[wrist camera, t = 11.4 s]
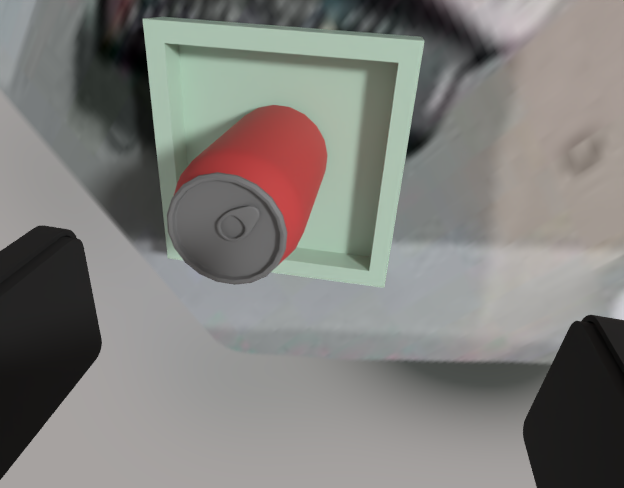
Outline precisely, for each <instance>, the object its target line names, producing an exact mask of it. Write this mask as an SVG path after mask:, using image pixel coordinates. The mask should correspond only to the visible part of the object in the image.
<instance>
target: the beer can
mask: <svg viewBox="0 0 624 488" xmlns="http://www.w3.org/2000/svg"><path fill="white" fill-rule="evenodd" d="M327 156H328V155H327V150H326V145H325V140H324V138H323V136H322V134H321V133H320V131H319V129H318V127H317V126H316V125H315V124H314V123H313V122H312V121H311V120H310V119H309V118H308V117H307V116H306V115H305V114H303V113H301V112H299V111H297V110H295V109H293V108H291V107H286V106H279V105H270V106H264V107H259V108H257V109H255V110H253V111H252V112H250V113H248V114H247V115H245V116H244V117H243V118H241V119H240V120H239V121H238V122H237V123H236V124H234V125H233V126H232V127H231V128H230V129H229V130H227V131H226V132H225V133H224V134H223V135H222V136H220V137H219V138H218V139H217V140H216V141H215V142H213V143H212V144H211V145H210V146H209V147H207V148H206V149H205V150H204V151H203V152H202V153H200V154H199V155H198V156H197V157H196V158H195V159H193V160H192V162H191V163H190V164H189V165H188V167H187V168H186V169H185V170H184V172H183V173H182V174H181V176H180V178H179V180H178V183H177V186H176V189H175V193H174V196H173V197H172V199H171V202H170V205H169V209H168V212H167V227H168V233H169V236H170V238H171V241H172V243H173V246H174V248H175V250H176V251H177V252H178V254H179V255H180V256H181V257H182V259H183V260H184V261H185V263H187V264H188V265H189V266H190V267H192V268H193V269H194V270H195V271H197V272H198V273H199V274H201V275H203V276H206V277H208V278H210V279H212V280H214V281H217V282H223V283H229V284H244V283H252V282H254V281H257V280H259V279H261V278H263V277H266V276H267V275H268V274H269V273H270V272H272V271H273V270H274V269H275V268H276V267H277V266H278V265H279V264H280V263H281V262H282V261H283V260H284V259H286V258H287V257H288V256H289V255H290V254H291V253H292V252H293V251H294V250H295V249H296V247H297V245H298V243H299V241H300V239H301V237H302V235H303V233H304V230H305V228H306V225H307V222H308V219H309V216H310V213H311V211H312V208H313V205H314V202H315V199H316V197H317V194H318V191H319V188H320V185H321V182H322V180H323V177H324V174H325V171H326V164H327Z"/></svg>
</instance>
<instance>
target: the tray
mask: <svg viewBox="0 0 624 488" xmlns="http://www.w3.org/2000/svg"><path fill="white" fill-rule="evenodd" d="M143 27H144V37H145V46H146V56H147V65H148V75H149V84H150V94H151V103H152V113H153V122H154V132H155V141H156V151H157V161H158V170H159V180H160V189H161V199H162V208H163V218H164V227H165V237H166V246H167V256H168V258H169V259H177V260H183V259H182V257H181V256H180V255H179V254H178V252H177V251H176V250H175V248H174V246H173V243H172V241H171V238H170V236H169V233H168V227H167V212H168V209H169V205H170V202H171V199H172V197H173V196H174V193H175V189H176V186H177V183H178V180H179V178H180V176H181V174H182V173H183V172H184V170H185V169H186V168H187V167H188V165H189V164H190V163H191V162H192V160H193V159H195V158H196V157H197V156H198V155H199V154H200V153H202V152H203V151H204V150H205V149H206V148H207V147H209V146H210V145H211V144H212V143H213V142H215V141H216V140H217V139H218V138H219V137H220V136H222V135H223V134H224V133H225V132H226V131H227V130H229V129H230V128H231V127H232V126H233V125H234V124H236V123H237V122H238V121H239V120H240V119H241V118H243V117H244V116H245V115H247V114H248V113H250V112H252V111H253V110H255V109H257V108H259V107H264V106H270V105H279V106H286V107H291V108H293V109H295V110H297V111H299V112H301V113H303V114H305V115H306V116H307V117H308V118H309V119H310V120H311V121H312V122H313V123H314V124H315V125H316V126H317V127H318V129H319V131H320V133H321V134H322V136H323V138H324V140H325V145H326V150H327V155H328V156H327V164H326V171H325V174H324V177H323V180H322V182H321V185H320V188H319V191H318V194H317V197H316V199H315V202H314V205H313V208H312V211H311V213H310V216H309V219H308V222H307V225H306V228H305V230H304V233H303V235H302V237H301V239H300V241H299V243H298V245H297V247H296V249H295V250H294V251H293V252H292V253H291V254H290V255H289V256H288V257H287V258H286V259H284V260H283V261H282V262H281V263H280V264H279V265H278V266H277V267H276V268H275V269H274V270H273V271H272V273H279V274H287V275H294V276H301V277H309V278H316V279H323V280H331V281H338V282H345V283H353V284H360V285H367V286H375V287H382V288H384V286H385V280H386V274H387V268H388V262H389V255H390V249H391V243H392V237H393V231H394V225H395V219H396V212H397V206H398V200H399V194H400V188H401V182H402V176H403V169H404V163H405V157H406V151H407V145H408V139H409V133H410V126H411V120H412V114H413V108H414V102H415V96H416V90H417V83H418V77H419V71H420V65H421V59H422V53H423V47H424V39H423V38H422V37H417V36H404V35H391V34H378V33H365V32H352V31H339V30H326V29H313V28H300V27H287V26H274V25H261V24H249V23H236V22H223V21H210V20H197V19H184V18H171V17H158V18H146V19H143Z"/></svg>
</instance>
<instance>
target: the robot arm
mask: <svg viewBox="0 0 624 488" xmlns="http://www.w3.org/2000/svg"><path fill="white" fill-rule="evenodd" d="M101 344H102V341H101V335H100V330H99V325H98V319H97V314H96V309H95V304H94V299H93V294H92V288H91V283H90V278H89V273H88V267H87V262H86V257H85V252H84V247H83V244H82V242H81V240H79V239H77V238H76V235H75V234H74V233H73V232H72V231H71V230H67V229H61V228H55V227H49V226H38V227H36V228H34V229H32V230H31V231H29V232H28V233H26V234H25V235H23V236H22V237H20V238H19V239H18V240H16V241H15V242H13V243H12V244H10V245H9V246H7V247H6V248H5V249H3V250H1V251H0V480H1V478H2V477H3V475H5V473H6V472H7V471H8V470H9V468H10V467H11V466H12V464H13V463H14V462H15V461H16V460H17V458H18V457H19V456H20V454H21V453H22V452H23V451H24V449H25V448H26V447H27V446H28V444H29V443H30V442H31V441H32V439H33V438H34V437H35V436H36V434H37V433H38V432H39V431H40V429H41V428H42V427H43V425H44V424H45V423H46V422H47V420H48V419H49V418H50V417H51V415H52V414H53V413H54V412H55V410H56V409H57V408H58V407H59V405H60V404H61V403H62V401H63V400H64V399H65V398H66V397H67V395H68V394H69V393H70V391H71V390H72V389H73V388H74V386H75V385H76V384H77V383H78V381H79V380H80V379H81V378H82V376H83V375H84V374H85V372H86V371H87V370H88V369H89V368H90V366H91V365H92V364H93V362H94V361H95V360H96V359H97V357H98V355H99V353H100V350H101ZM523 437H524V442H525V445H526V449H527V453H528V456H529V460H530V464H531V468H532V471H533V475H534V479H535V482H536V486H537V488H624V320H619V319H613V318H607V317H601V316H595V315H588V316H586V317H585V318H583V320H582V321H575V322H574V323H572V325H571V326H570V328H569V330H568V332H567V334H566V336H565V338H564V340H563V342H562V344H561V346H560V349H559V351H558V353H557V355H556V357H555V359H554V361H553V363H552V365H551V367H550V369H549V371H548V373H547V375H546V377H545V379H544V382H543V384H542V386H541V388H540V390H539V392H538V394H537V396H536V398H535V400H534V402H533V404H532V406H531V409H530V410H529V412H528V415H527V417H526V419H525V421H524V427H523Z"/></svg>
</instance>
